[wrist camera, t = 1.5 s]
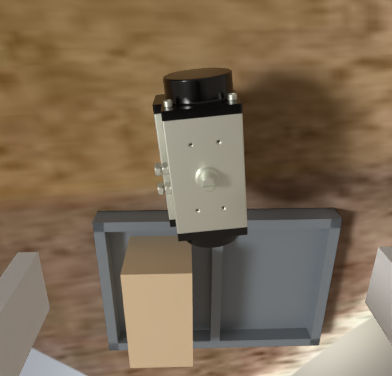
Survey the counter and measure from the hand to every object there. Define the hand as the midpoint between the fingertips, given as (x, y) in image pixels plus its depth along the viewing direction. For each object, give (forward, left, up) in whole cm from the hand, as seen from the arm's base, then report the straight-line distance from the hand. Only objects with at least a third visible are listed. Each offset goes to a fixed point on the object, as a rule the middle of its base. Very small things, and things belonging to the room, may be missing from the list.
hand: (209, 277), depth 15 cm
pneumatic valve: (0, 0, -20) cm, 21 cm away
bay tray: (+16, +2, -20) cm, 26 cm away
